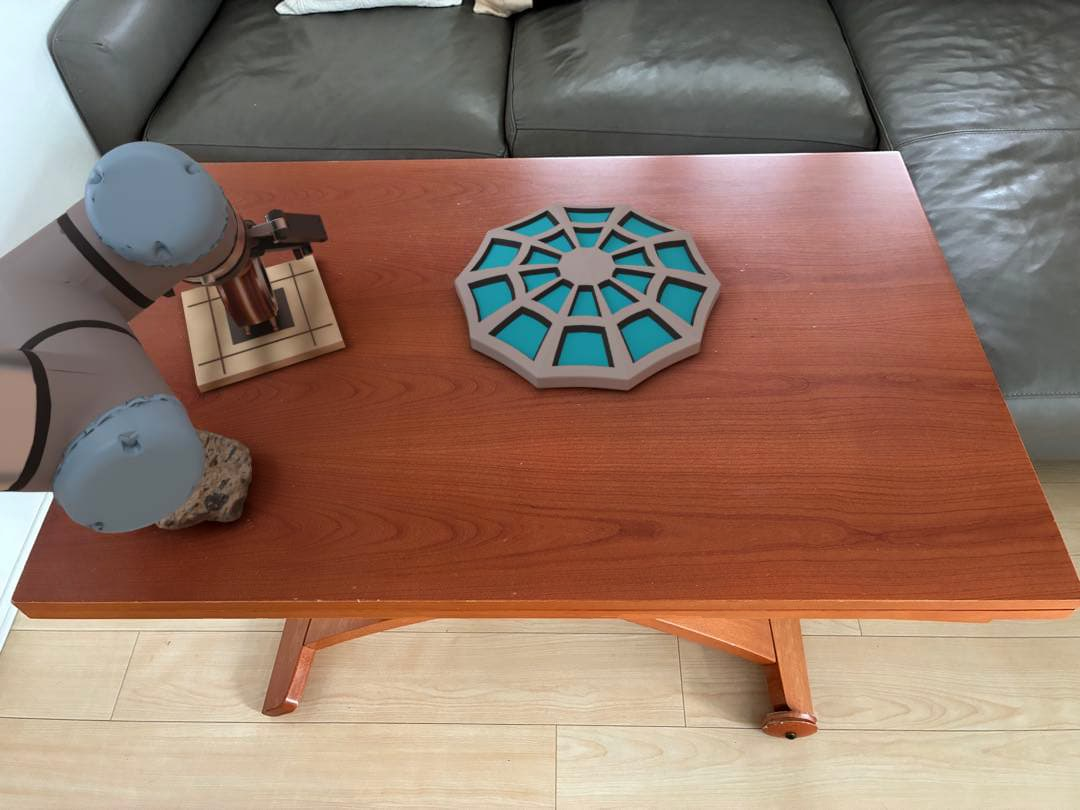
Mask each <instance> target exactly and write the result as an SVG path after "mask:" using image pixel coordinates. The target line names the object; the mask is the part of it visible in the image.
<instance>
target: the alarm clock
mask: <svg viewBox="0 0 1080 810" xmlns="http://www.w3.org/2000/svg"><path fill="white" fill-rule="evenodd" d="M234 208H235V209H236V210H237V211H238V213H239V214H240V216H241V217H242V218H243V216H242V215H241V213H240V212H239V210H238V209H237V208H236V207H235V206H234ZM265 268H266V266H265V264H264V261H263V258H262V256H261V257H259V258H256V259H254V260H248V261H247V263H246V265H245V266H244V268H243V269H242V271H241V272H240V273H239V274H238V275H237V276H235V277H234V278H233V279H231V280H230V281H228V282H226V283H223V284H220V285H217V286H215V287H216V289H217V292H218V294H219V296H220V298H221V301H222V303H223V305H224V307H225V309H226V310H227V312H228V314H229V315H230V316H231V317H232V318H233V320H234V321H235V323H236V325H237V326H238V327H243V326H245V328H246V331H247V335H250V334H251V332H250V331H249V325H254V324H258V323H261V322H263V321H266V320H268V319H269V320H270V322H271V324H272V325H273V327H274V328H273V329H274V330H275V331H277V330H278V327H276V322H275V316H277V311H278V305H277V302H276V298H275V295H274V292H273V289H272V286H271V283H270V280H269V277H268V274H267V271H266V269H265Z"/></svg>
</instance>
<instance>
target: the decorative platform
mask: <svg viewBox="0 0 1080 810" xmlns="http://www.w3.org/2000/svg"><path fill="white" fill-rule="evenodd" d="M454 288H455V291H456V294H457V296H458V298H459V301H460V303H461V306H462V309H463V311H464V314H465V317H466V321H467V326H468V333H469V341H470V346H471V348H472V349H473V350H474V351H475V350H476V351H477V352H480V353H482V354H483V355H486V356H487V357H489V358H491V359H493V360H495V361H497V362H499V363H500V364H502V365H504V366H506V367H507V368H509V369H511V370H512V371H514V372H515V373H517V374H518V376H521V377H522V378H523V379H525V380H526V381H527V382H529V383H530V384H532V385H533V386H534V387H536V388H537V389H549V388H551V389H552V388H596V389H608V390H609V389H610V390H618V391H619V390H620V391H629V390H631V389H632V388H634V387H635V386H637V385H638V384H640V383H641V382H643V381H644V380H646V379H648V378H650V377H651V376H652V375H654V374H656V373H657V372H659V371H661V370H663V369H665V368H667V367H669V366H671V365H673V364H676V363H678V362H679V361H683V360H684V359H687V358H689V357H691V356H694V355H696V354H699V353H700V349H701V344H702V340H703V335H704V331H705V328H706V325H707V322H708V319H709V317H710V314H711V313H712V311H713V308H714V306H715V304H716V302H717V301H718V298H719V296H720V294H721V289H722V283H721V282H720V280H719V279H718V278H717V276H715V274H714V273H713V272H712V270H711V269H710V267H709V266H708V265H707V263H706V262H705V260H704V258H703V256H702V254H701V253H700V251H699V249H698V247H697V245H696V243H695V240H694V238H693V236H692V233H691V232H690V231H687V230H683V229H681V228H678V227H675V226H673V225H670V224H668V223H665V222H663V221H661V220H659V219H656V218H654V217H652V216H650V215H649V214H647V213H644V212H642V211H641V210H638V209H637V208H635V207H633V206H632V205H629V204H627V203H617V204H593V205H592V204H590V205H589V204H587V205H585V204H566V203H549V204H548V205H546V206H545V207H542V208H541V209H539V210H537V211H535V212H533V213H530V214H528V215H526V216H524V217H522V218H520V219H517V220H515V221H512V222H509V223H506V224H504V225H501V226H498V227H495V228H492V229H489V230H487V232H486V234H485V236H484V238H483V240H482V242H481V244H480V246H479V247H478V249H477V250H476V252H475V254H474V255H473V257H471V259H470V261H469V263H468V264H467V265H466V267H465V268H464V269H463V270H462V271H461V272H460V274H458V276H457V277H456V278H455V279H454Z"/></svg>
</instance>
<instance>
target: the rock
mask: <svg viewBox="0 0 1080 810" xmlns="http://www.w3.org/2000/svg"><path fill="white" fill-rule="evenodd" d="M194 429H195V431H196V433H197V435H198V437H199V439H200V441H201V443H202V445H203V448H204V453H205V469H204V473H203V476H202V477H201V480H200V483H199V484H198V485H197V487H196V489H195V491H194V492H193V494H192V495H191V497H190V498H189V499H188V500H187V501H186V502H185V503H184V504H183V505H182V506H181V507H180V508H179V509H177V510H176V511H175V512H173V513H172V514H170V515H169V516H167V517H166V518H164V519H162V520H160V521H158V522H156V523H154V524H155V525H156V526H157V527H158V528H159V529H164V530H169V531H177V530H180V529H185V528H188V527H192V526H195V525H197V524H201V523H202V522H204V521H209V522H210V521H211V522H221V523H227V522H229V523H230V522H234V521H236V520H238V519H239V518H241V515H242V513H243V511H244V510H243V507H244V502H245V500H246V498H247V497H248V491H249V490H248V489H249V485H250V483H252V473H253V468H252V461H253V460H252V457H251V451H250V449H249V448H248V446H246V445H244V444H243V443H242V442H241V441H240V440H236V439H235V438H231V437H228V436H226V435H223V434H218V433H214V432H210V431H208V430H206V429H203V430H201V429H199V428H195V427H194Z"/></svg>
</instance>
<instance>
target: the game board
mask: <svg viewBox="0 0 1080 810" xmlns="http://www.w3.org/2000/svg"><path fill="white" fill-rule="evenodd" d="M303 258H304V259H300V260H296V259H292V260H289V261H286V262H283V263H279V264H276V265H272V266H268V267H265V269H266V271H267V274H268V277H269V280H270V283H271V286H272V289H273V292H274V295H275V298H276V302H277V305H278V311H277V316H275V322H276V327H278V330H277V331H275V330H274V329H273V328H274V327H273V325H272V324H271V322H270V320H269V319H268V320H266V321H263V322H261V323H258V324H254V325H249V331H250V332H251V334H250V335H247V331H246V328H245V326H243V327H238V326H237V325H236V323H235V321H234V320H233V318H232V317H231V316H230V315H229V314H228V312H227V310H226V309H225V307H224V305H223V303H222V301H221V298H220V296H219V294H218V292H217V289H216V287H215V286H210V287H201V286H198V287H195V288H191V289H189V290H185V291H182V292H180V295H181V299H182V300H181V301H182V307H183V311H184V318H185V323H186V328H187V335H188V340H189V346H190V352H191V358H192V363H193V369H194V374H195V378H196V380H195V381H196V385H197V388H198V389H199V392H200V393H201V394H202V393H206V392H209V391H212V390H215V389H217V388H221V387H225V386H228V385H230V384H234V383H238V382H240V381H243V380H247V379H250V378H253V377H256V376H260V375H263V374H266V373H269V372H271V371H276V370H278V369H281V368H284V367H288V366H291V365H294V364H297V363H301V362H303V361H307V360H310V359H313V358H317V357H320V356H323V355H326V354H329V353H333V352H335V351H339V350H342V349H345V348H346V344H345V342H344V339H343V335H342V334H341V333H342V332H341V330H340V329H339V324H338V322H337V319H336V316H335V314H334V310H333V307H332V306H331V302H330V299H329V297H328V294H327V291H326V288H325V286H324V282H323V280H322V277H321V274H320V270H319V269H318V266H317V263H316V262H317V261H316V260H315V257H314V255H313V254H309V255H305V256H303Z"/></svg>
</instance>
